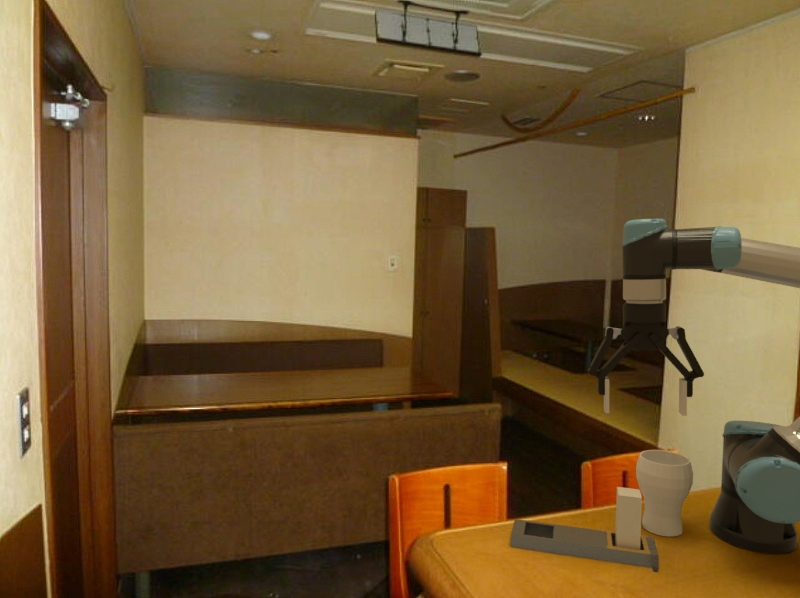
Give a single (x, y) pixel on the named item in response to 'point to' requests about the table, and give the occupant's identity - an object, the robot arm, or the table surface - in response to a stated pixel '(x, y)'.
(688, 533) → the table surface
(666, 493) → the cup
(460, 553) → the table surface
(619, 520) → the peg
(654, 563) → the grey peg hole board
